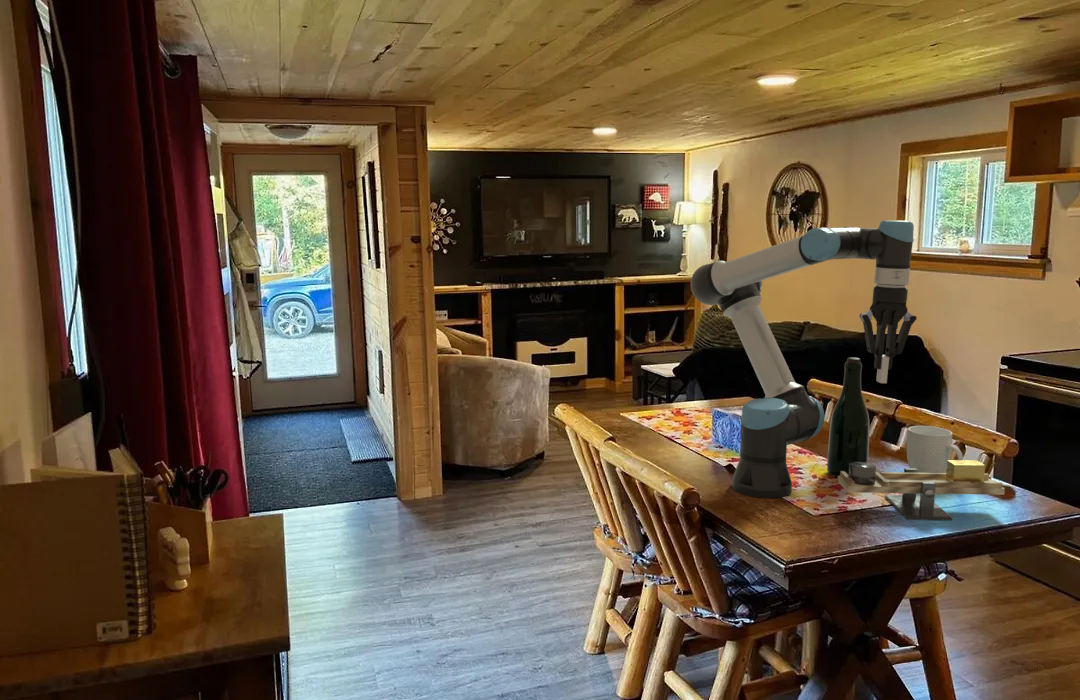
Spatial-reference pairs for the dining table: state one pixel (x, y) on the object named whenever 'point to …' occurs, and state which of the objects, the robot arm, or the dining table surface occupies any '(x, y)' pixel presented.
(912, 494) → the stand
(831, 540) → the dining table surface
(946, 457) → the mug
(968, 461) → the rider
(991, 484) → the beam
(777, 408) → the robot arm
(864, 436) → the green wine bottle
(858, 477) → the counterweight
